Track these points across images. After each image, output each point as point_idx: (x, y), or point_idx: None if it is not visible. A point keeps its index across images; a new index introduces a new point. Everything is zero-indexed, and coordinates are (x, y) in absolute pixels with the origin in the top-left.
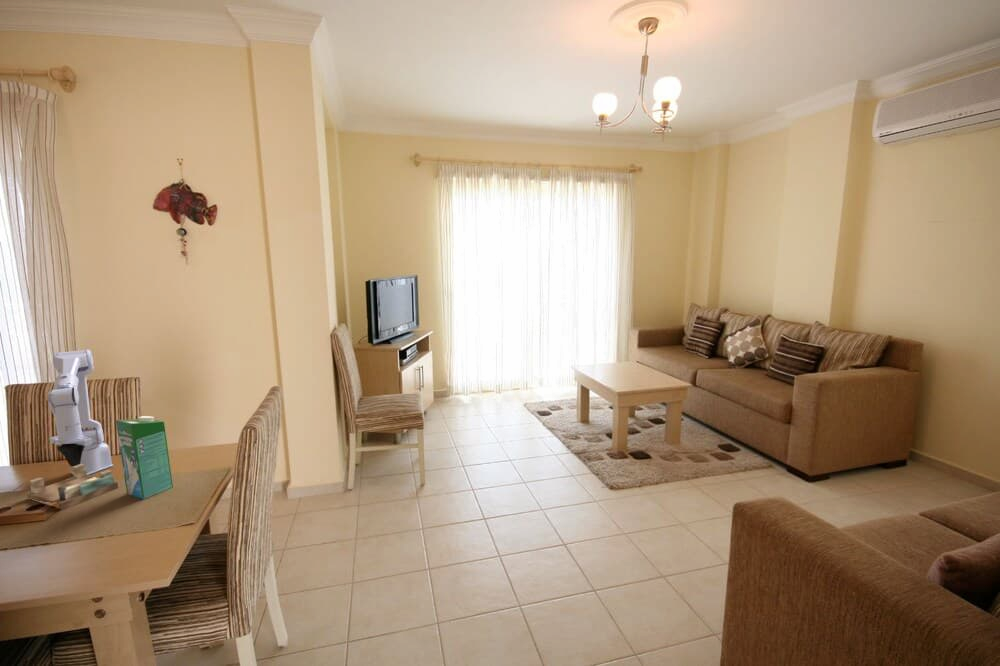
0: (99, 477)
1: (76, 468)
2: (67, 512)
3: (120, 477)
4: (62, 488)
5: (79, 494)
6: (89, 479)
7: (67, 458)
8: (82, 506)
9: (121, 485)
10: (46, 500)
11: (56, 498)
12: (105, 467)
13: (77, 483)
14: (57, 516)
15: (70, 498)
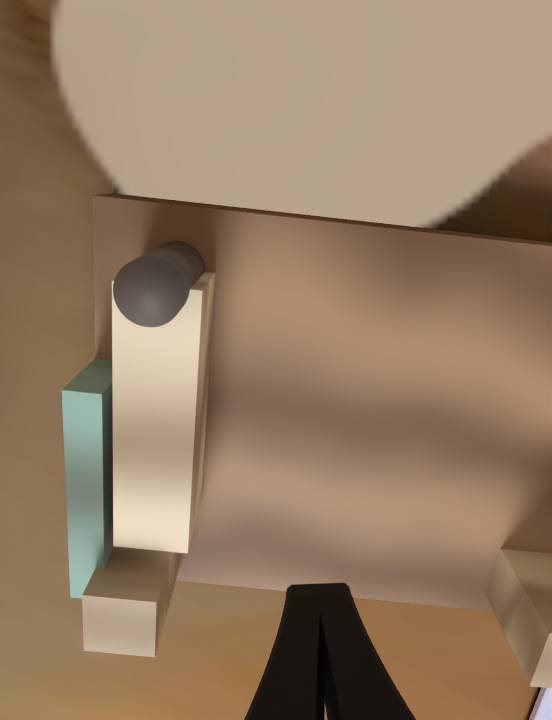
0: None
1: (542, 625)
2: (15, 176)
3: None
4: (117, 280)
5: None
6: (175, 511)
7: (349, 688)
8: (20, 280)
9: None
10: (344, 222)
11: (264, 259)
12: (538, 711)
13: (188, 429)
14: (11, 101)
15: None
